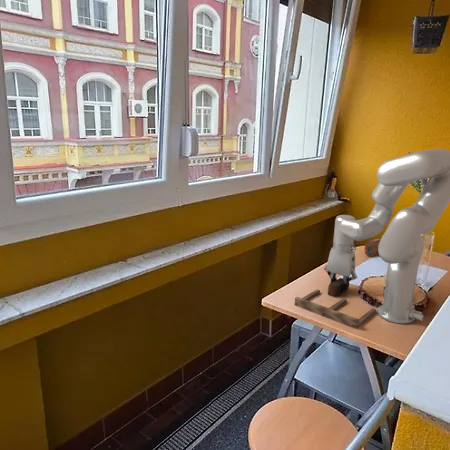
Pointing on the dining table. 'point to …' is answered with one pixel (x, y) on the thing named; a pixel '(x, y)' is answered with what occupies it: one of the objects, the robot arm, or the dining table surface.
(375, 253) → the tin
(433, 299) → the dining table surface
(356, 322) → the lane rack
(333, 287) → the brick
